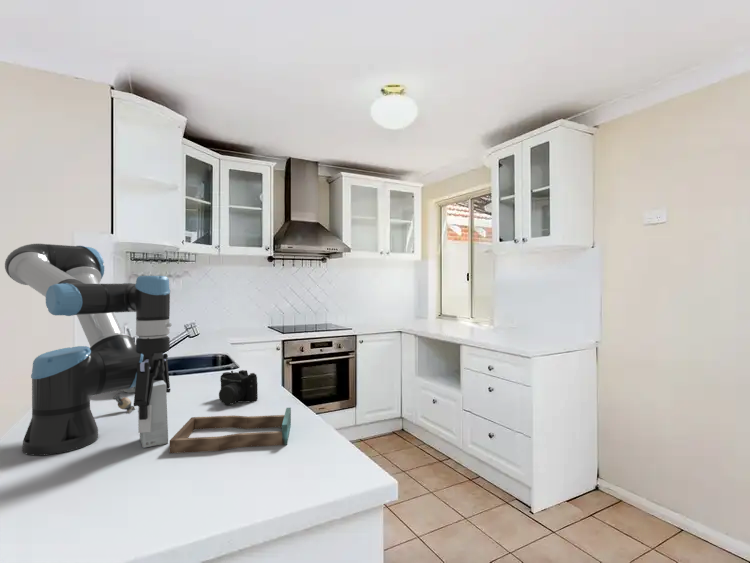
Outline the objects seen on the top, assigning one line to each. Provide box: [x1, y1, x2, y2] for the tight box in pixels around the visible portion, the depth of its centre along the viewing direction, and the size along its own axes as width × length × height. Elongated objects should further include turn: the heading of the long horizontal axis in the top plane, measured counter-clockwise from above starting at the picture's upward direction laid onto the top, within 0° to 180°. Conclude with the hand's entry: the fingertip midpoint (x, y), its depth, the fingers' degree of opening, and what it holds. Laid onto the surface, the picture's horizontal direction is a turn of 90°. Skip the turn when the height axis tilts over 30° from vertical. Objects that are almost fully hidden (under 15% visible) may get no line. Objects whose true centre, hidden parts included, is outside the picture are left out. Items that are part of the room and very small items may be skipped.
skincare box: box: [139, 380, 169, 449], centre depth 107 cm, size 8×6×15 cm
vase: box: [112, 393, 136, 415], centre depth 131 cm, size 5×5×6 cm
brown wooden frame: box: [169, 407, 292, 454], centre depth 109 cm, size 27×17×5 cm, turn 98°
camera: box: [218, 369, 259, 406], centre depth 142 cm, size 14×11×10 cm
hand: (153, 424), depth 107 cm, fingers closed on skincare box, 9 cm apart
